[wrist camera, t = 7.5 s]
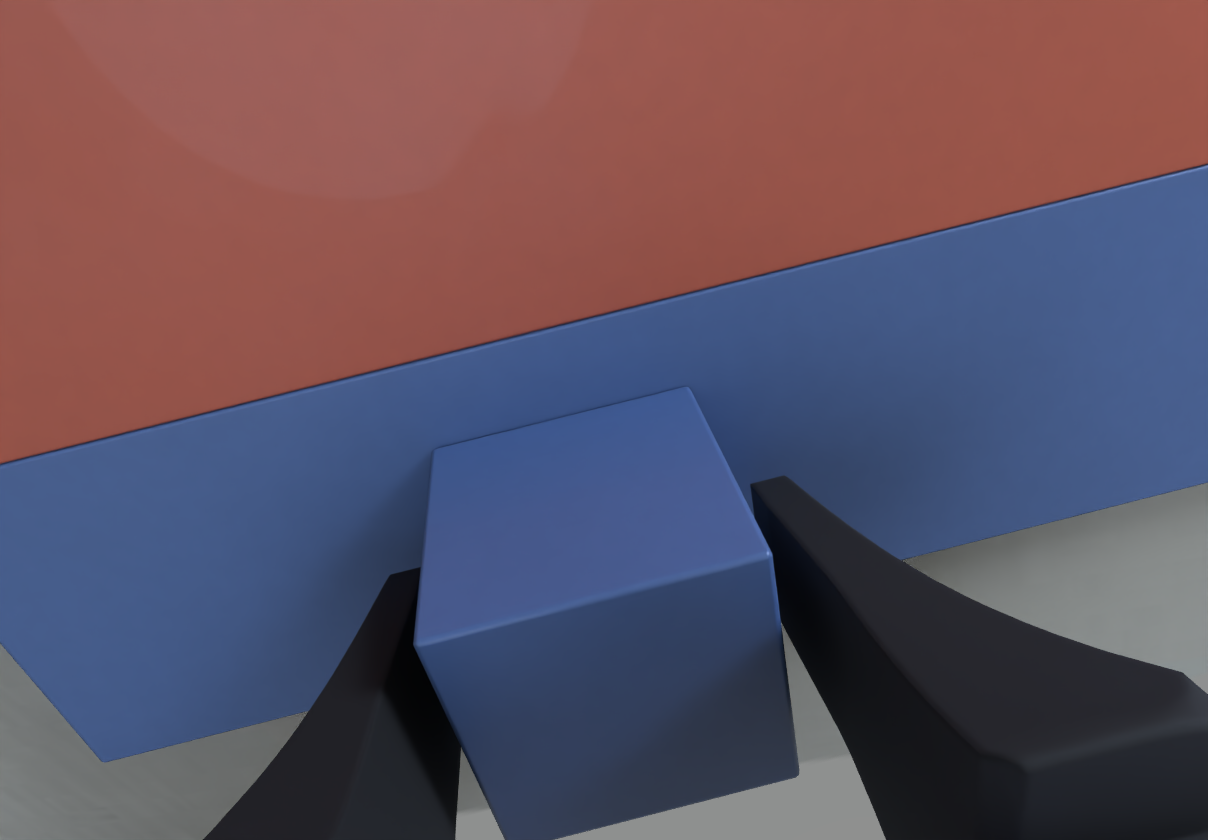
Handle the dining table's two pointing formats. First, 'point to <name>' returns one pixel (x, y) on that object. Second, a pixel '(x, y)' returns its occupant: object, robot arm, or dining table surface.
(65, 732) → the dining table surface
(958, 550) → the dining table surface
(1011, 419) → the board
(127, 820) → the dining table surface
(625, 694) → the blue block
